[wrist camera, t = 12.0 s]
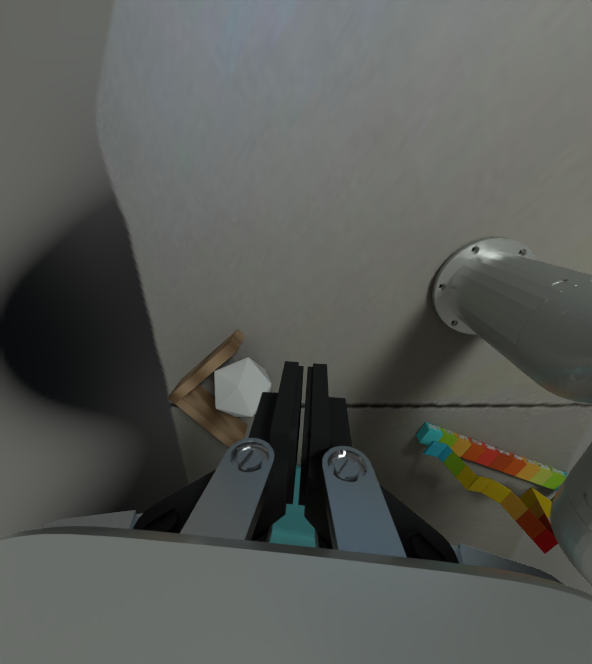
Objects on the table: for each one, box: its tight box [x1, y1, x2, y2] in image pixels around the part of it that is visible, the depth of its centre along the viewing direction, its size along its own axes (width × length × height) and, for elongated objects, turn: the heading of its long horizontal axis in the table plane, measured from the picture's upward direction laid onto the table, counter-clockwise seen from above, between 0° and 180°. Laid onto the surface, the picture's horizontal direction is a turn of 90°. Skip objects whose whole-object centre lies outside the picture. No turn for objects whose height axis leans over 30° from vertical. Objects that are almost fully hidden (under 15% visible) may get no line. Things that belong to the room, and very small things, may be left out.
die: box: [214, 357, 272, 417], centre depth 43 cm, size 8×9×10 cm
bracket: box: [168, 330, 248, 448], centre depth 45 cm, size 11×19×5 cm, turn 177°
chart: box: [416, 422, 569, 553], centre depth 43 cm, size 30×3×15 cm, turn 69°
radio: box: [269, 465, 316, 548], centre depth 52 cm, size 34×10×15 cm, turn 171°
